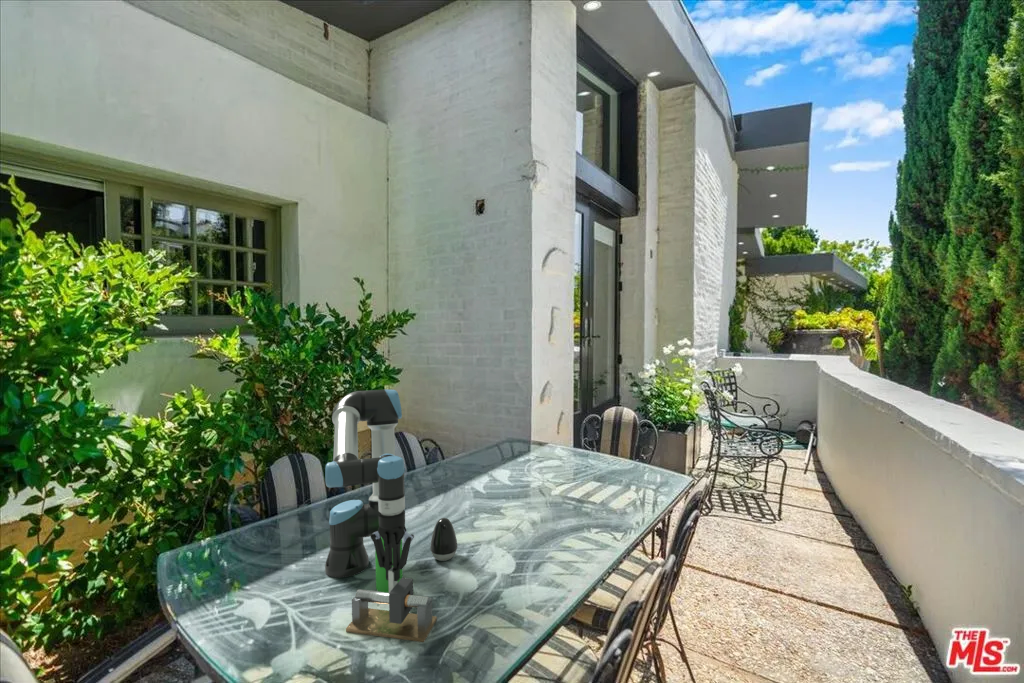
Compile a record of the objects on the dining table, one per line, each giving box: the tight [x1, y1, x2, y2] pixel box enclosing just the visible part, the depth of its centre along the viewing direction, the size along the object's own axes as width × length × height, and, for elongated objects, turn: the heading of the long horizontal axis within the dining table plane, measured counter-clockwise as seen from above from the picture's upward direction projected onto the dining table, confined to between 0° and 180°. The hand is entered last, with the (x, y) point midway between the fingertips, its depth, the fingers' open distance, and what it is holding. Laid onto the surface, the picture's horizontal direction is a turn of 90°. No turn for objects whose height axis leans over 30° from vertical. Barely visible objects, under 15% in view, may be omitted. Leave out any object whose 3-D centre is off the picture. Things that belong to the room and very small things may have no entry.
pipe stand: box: [345, 588, 438, 643], centre depth 133 cm, size 24×10×10 cm, turn 78°
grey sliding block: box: [388, 577, 414, 624], centre depth 132 cm, size 4×8×8 cm, turn 168°
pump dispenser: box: [429, 517, 458, 562], centre depth 173 cm, size 10×10×15 cm
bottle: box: [374, 538, 404, 593], centre depth 152 cm, size 9×9×25 cm
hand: (393, 590), depth 132 cm, fingers closed
